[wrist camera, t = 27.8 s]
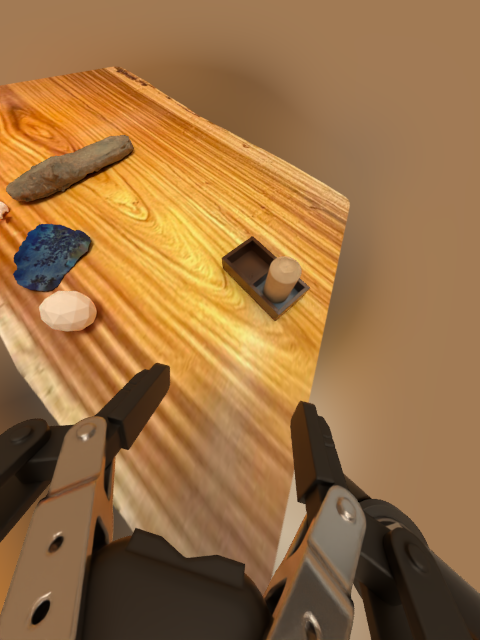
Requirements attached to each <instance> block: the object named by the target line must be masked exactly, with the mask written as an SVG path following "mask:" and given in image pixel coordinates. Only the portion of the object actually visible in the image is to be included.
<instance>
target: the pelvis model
mask: <svg viewBox="0 0 480 640" xmlns="http://www.w3.org/2000/svg"><path fill="white" fill-rule="evenodd" d="M4 212H9V210H8V207H7V206H6V204H4V203H3V202H1V201H0V219H3V214H4Z"/></svg>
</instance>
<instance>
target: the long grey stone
mask: <svg viewBox="0 0 480 640" xmlns="http://www.w3.org/2000/svg"><path fill="white" fill-rule="evenodd" d="M132 150H133V145H132V143H131V141H130V139H129V137H128V136H125V135H120V136H110V137H107V138H105V139H103V140H101V141H99V142H96V143H93V144H91V145H88V146H86V147H84V148H82V149H80V150H78V151H76V152H74V153H69V154H65V155H62V156H54V157H50V158H48V159H47V160H45V161H43V162H41V163H39V164H38V165H36V166H32V167H31V169H30V170H29V171H27V172H25V173H24V174H22V175H21V176H20V177H18V178H17V179H15V180H14V181H13V182H11V183H9V185H8V186H7V188H6V191H7V192H8V194H9V195H10V196H12V198H13V199H15V200H18V201H25V202H29V201H33V200H35V199H39V198H43V197H48V196H49V195H52V194H55V192H58V191H60V192H64V190H65V189H67V188H69V187H70V185H72V184H73V183H76V182H78V181H79V180H81V179H83V178H84V177H85V176H86V175H87V174H88V173H93V172H94V171H97V172H98V171H99V170H100V169H101V168H102V167H105V166H107V165H109V164H112V163H115V162H117V161H119V160H122V158H124V157H125V156H126V155H128V154H129V153H130V152H131V151H132Z"/></svg>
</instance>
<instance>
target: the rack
mask: <svg viewBox="0 0 480 640" xmlns="http://www.w3.org/2000/svg"><path fill="white" fill-rule="evenodd" d="M275 259H276V257H275V256H274V255H273V254H272V253H271V252H270V251H269V250H267V249H266V248H265V247H264V246H263V245H262V244H261V243H260V242H259V241H257V240H256V239H255V238H254V237H253V236H252V237H251V238H249V239H248V240H246V241H245V242H244V243H242V244H241V245H239V246H238V247H237V248H235V249H234V250H232V251H231V252H229V253H228V254H227V255H225V256H224V257H222V264H223V268H224V269H225V270H226V271H227V272H228V273H229V275H230V276H231V277H232V278H233V279H234V280H235V281H236V282H237V283H238V284H239V285H240V286H241V287H242V288H243V289H244V290H245V291H246V292H247V293H248V294H249V295H250V296H251V297H252V298H253V299H254V300H255V301H256V302H257V303H258V304H259V305H260V306H261V307H262V308H263V309H264V310H265V311H266V312H267V313H268V314H269V315H270V316H271V317H272V318H273V319H274V320H275V321H276V320H277V319H278V318H279V317H280V316H281V315H283V314H284V313H285V312H286V311H287V310H288V309H289V308H290V307H292V306H293V305H294V304H295V303H296V302H297V301H298V300H300V299H301V298H302V297H303V296H304V295H305V294H306V292H307V291H308V290H309V289H310V287H309V286H308V285H307V284H306V283H304V282H303V281H302V280H301V279H300V278H299V279H298V281H297V283H296V284H295V286H294V288H293V289H292V291H291V293H290V294H289V296H288V297H287V299H286V300H285V301H284V302H282V303H278V304H275V303H271V302H270V301H269V300H268V299H267V298H266V297H265V296H264V293H263V290H264V285H265V282H266V279H267V275H268V272H269V268H270V265H271V263H272V261H273V260H275Z"/></svg>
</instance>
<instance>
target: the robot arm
mask: <svg viewBox="0 0 480 640" xmlns="http://www.w3.org/2000/svg"><path fill="white" fill-rule="evenodd" d="M169 386H170V367H169V366H168V365H164V364H160V363H156V364H154V365H153V367H152V368H151V369H150V370H146V369H145V370H143V371H141V372H139V373H137V374H136V375H135V376H134V377H133V378H132V379H131V380H130V381H129V383H127V384H126V385H125V386H124V387H123V389H121V390H120V391H119V392H118V393H117V394H116V395H115V396H114V397H113V398H112V399H111V400H110V401H109V402H108V403H107V404H106V405H105V406H104V407H103V408H102V409H101V410H100V412H98V413H97V414H96V415H95V416H92V417H88V418H85V419H83V420H81V421H79V422H78V423H76V424H75V425H65V426H48V424H47V422H46V421H45V420H43V419H30V420H26V421H23V422H21V423H18V424H17V425H15V426H13V427H11V428H9V429H8V430H7V431H5V432H4V433H3V434H1V435H0V542H1V541H2V540H3V539H4V537H5V536H6V535H7V534H8V533H9V531H10V530H11V529H12V528H13V527H14V526H15V524H16V523H17V522H18V521H19V520H20V518H21V517H22V516H23V515H24V514H25V512H26V511H27V510H28V509H29V508H30V506H31V505H32V504H33V503H34V502H35V501H36V499H37V498H38V497H39V496H40V495H41V493H42V492H43V491H44V490H45V489H46V487H47V486H48V485H49V484H50V483H51V485H50V489H49V491H48V494H47V495H46V497H45V498H43V499H42V500H40V501H39V503H38V504H37V506H36V508H35V510H34V513H33V516H32V519H31V522H30V525H29V528H28V531H27V534H26V538H25V540H24V544H23V547H22V550H21V553H20V556H19V559H18V562H17V565H16V569H15V572H14V575H13V578H12V581H11V584H10V587H9V590H8V593H7V597H6V599H5V602H4V606H3V609H2V612H1V615H0V640H349V639H350V634H351V630H352V625H353V619H354V603H353V601H352V599H351V589H352V585H353V580H354V577H355V578H357V579H358V580H359V585H360V589H361V594H362V599H363V603H364V608H365V612H366V617H367V621H368V626H369V631H370V635H371V640H480V593H478V592H477V591H476V590H475V589H474V588H473V587H472V586H471V585H470V584H468V583H467V582H466V581H465V580H464V579H463V578H462V577H461V576H459V575H458V574H457V573H456V572H455V571H454V570H452V569H451V568H450V567H449V566H448V565H447V564H446V563H445V562H443V560H441V559H440V558H439V557H438V556H437V555H436V554H434V552H433V551H431V550H430V549H429V548H428V547H427V546H426V545H425V544H424V543H422V542H421V541H420V539H418V538H417V537H416V536H415V535H414V534H413V533H412V532H411V531H410V530H409V529H408V528H407V527H405V526H404V525H403V524H402V523H400V522H399V521H397V520H396V519H393V518H391V517H387V516H378V517H374V518H373V517H372V516H370V515H369V514H367V513H366V512H365V511H364V510H363V509H362V508H361V506H360V504H359V502H358V501H357V500H356V498H355V497H354V496H353V495H352V494H351V493H350V492H349V490H348V487H347V484H346V481H345V478H344V474H343V471H342V468H341V464H340V461H339V458H338V454H337V451H336V449H335V444H334V441H333V440H332V435H331V431H330V428H329V426H328V424H327V423H326V421H325V420H324V418H323V417H321V416H318V414H317V411H316V407H315V405H314V404H311V403H307V402H303V401H300V402H299V404H298V406H297V408H296V410H295V412H294V414H293V416H292V418H291V425H290V428H291V439H292V449H293V459H294V470H295V480H296V491H297V501H298V502H300V503H303V504H306V511H307V514H306V515H305V517H304V519H303V521H302V523H301V525H300V527H299V529H298V531H297V534H296V535H295V537H294V540H293V541H292V544H291V546H290V547H289V549H288V551H287V553H286V555H285V558H284V560H283V561H282V563H281V564H280V566H279V567H278V569H277V570H276V572H275V574H274V576H273V577H272V579H271V581H270V583H269V585H268V587H267V589H266V591H265V593H264V595H263V596H262V594H261V592H260V591H259V589H258V588H257V586H256V585H255V583H254V582H253V581H252V580H251V579H250V578H249V577H248V576H247V575H246V574H245V573H244V569H245V564H243V563H240V562H237V561H234V560H231V559H228V558H225V557H222V556H219V555H211V556H202V557H193V558H186V557H184V556H183V555H181V554H180V553H179V552H178V551H177V550H176V549H175V548H174V547H173V546H172V545H170V544H169V543H168V542H167V541H166V540H165V539H164V538H163V537H162V536H159V535H156V534H153V533H149V532H146V531H143V530H140V529H137V528H135V530H134V533H133V535H132V536H127V537H124V538H120V539H118V540H115V541H113V542H112V539H113V487H114V472H115V456H116V455H117V453H118V452H119V450H120V449H121V448H123V449H126V450H129V449H130V447H131V446H132V444H133V443H134V441H135V440H136V438H137V437H138V435H139V434H140V432H141V431H142V429H143V428H144V426H145V425H146V423H147V422H148V420H149V419H150V417H151V416H152V414H153V413H154V411H155V410H156V408H157V407H158V405H159V404H160V402H161V401H162V399H163V398H164V396H165V395H166V393H167V391H168V389H169Z"/></svg>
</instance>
